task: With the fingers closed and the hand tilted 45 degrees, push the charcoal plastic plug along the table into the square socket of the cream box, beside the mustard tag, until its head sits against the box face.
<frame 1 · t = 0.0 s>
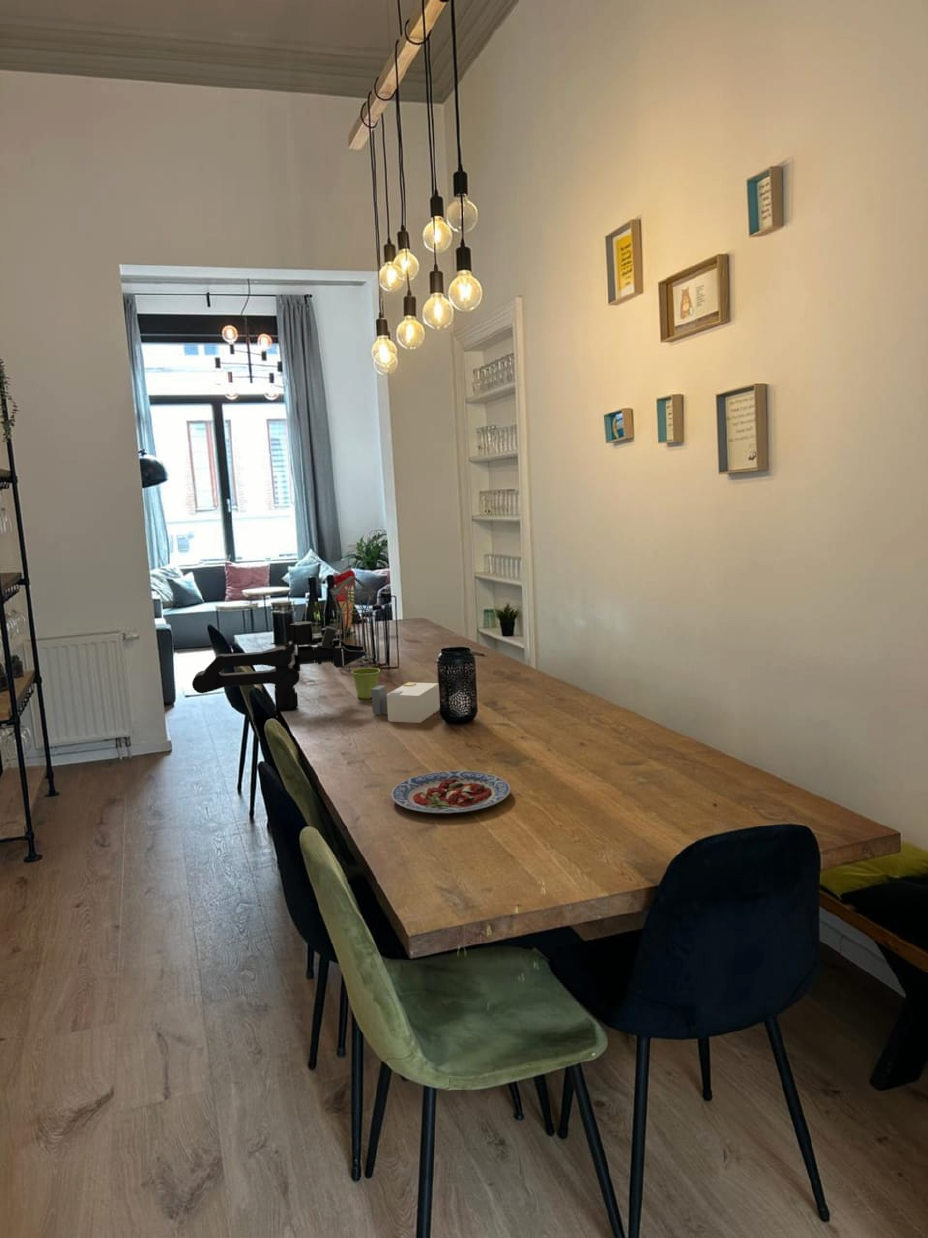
hand: (364, 650, 281), 17 cm above the table, tool horizontal, fingers open, 9 cm apart
ceramic plate: (451, 800, 193), on the table
plug: (390, 700, 267), point 4 cm above the table, slide at 0.0 cm
geometric lantern: (357, 668, 338), on the table
plant pot: (367, 697, 291), on the table
port box: (414, 715, 265), on the table
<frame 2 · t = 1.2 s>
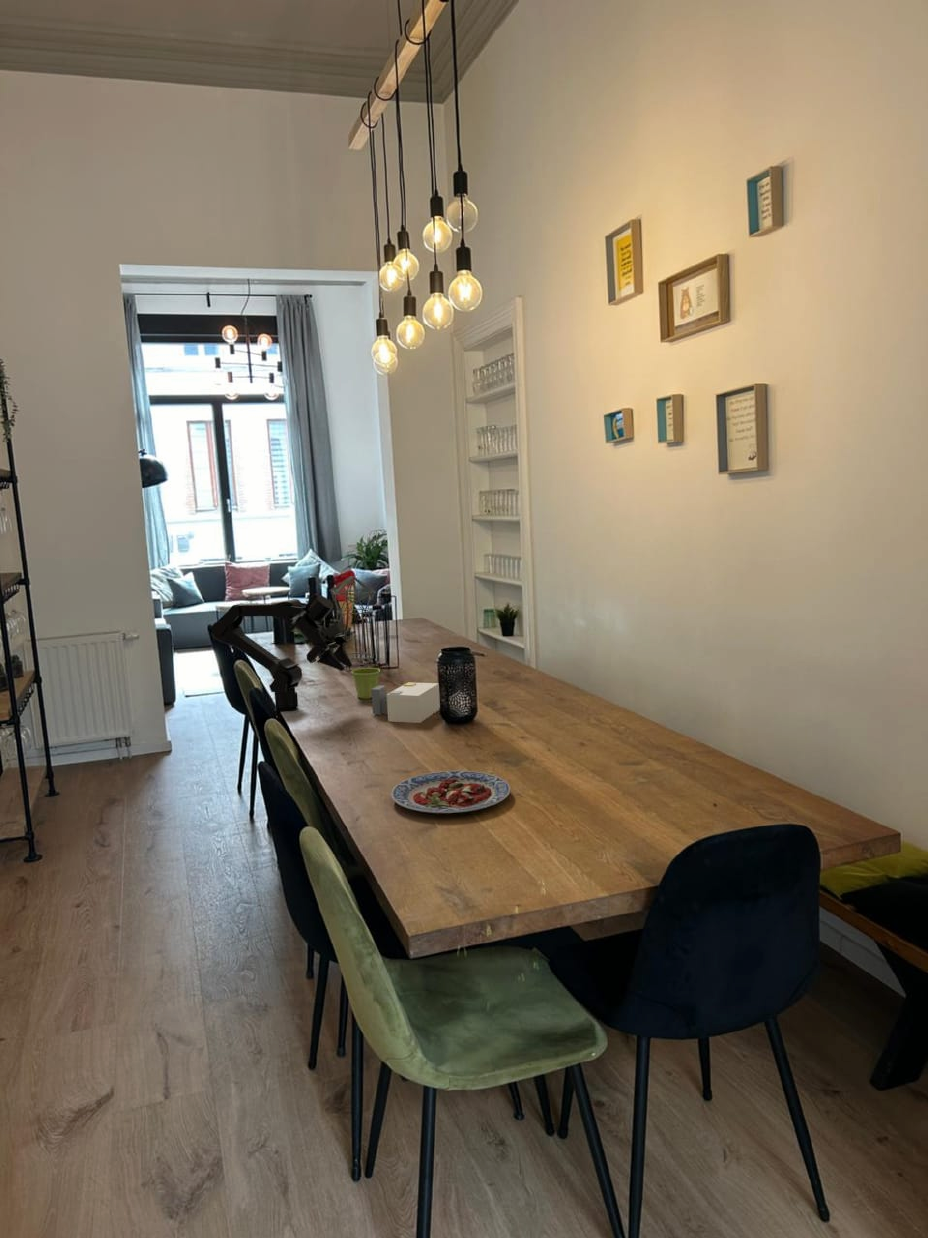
hand: (347, 668, 270), 14 cm above the table, tool tilted 45°, fingers open, 5 cm apart
nothing on the table moved.
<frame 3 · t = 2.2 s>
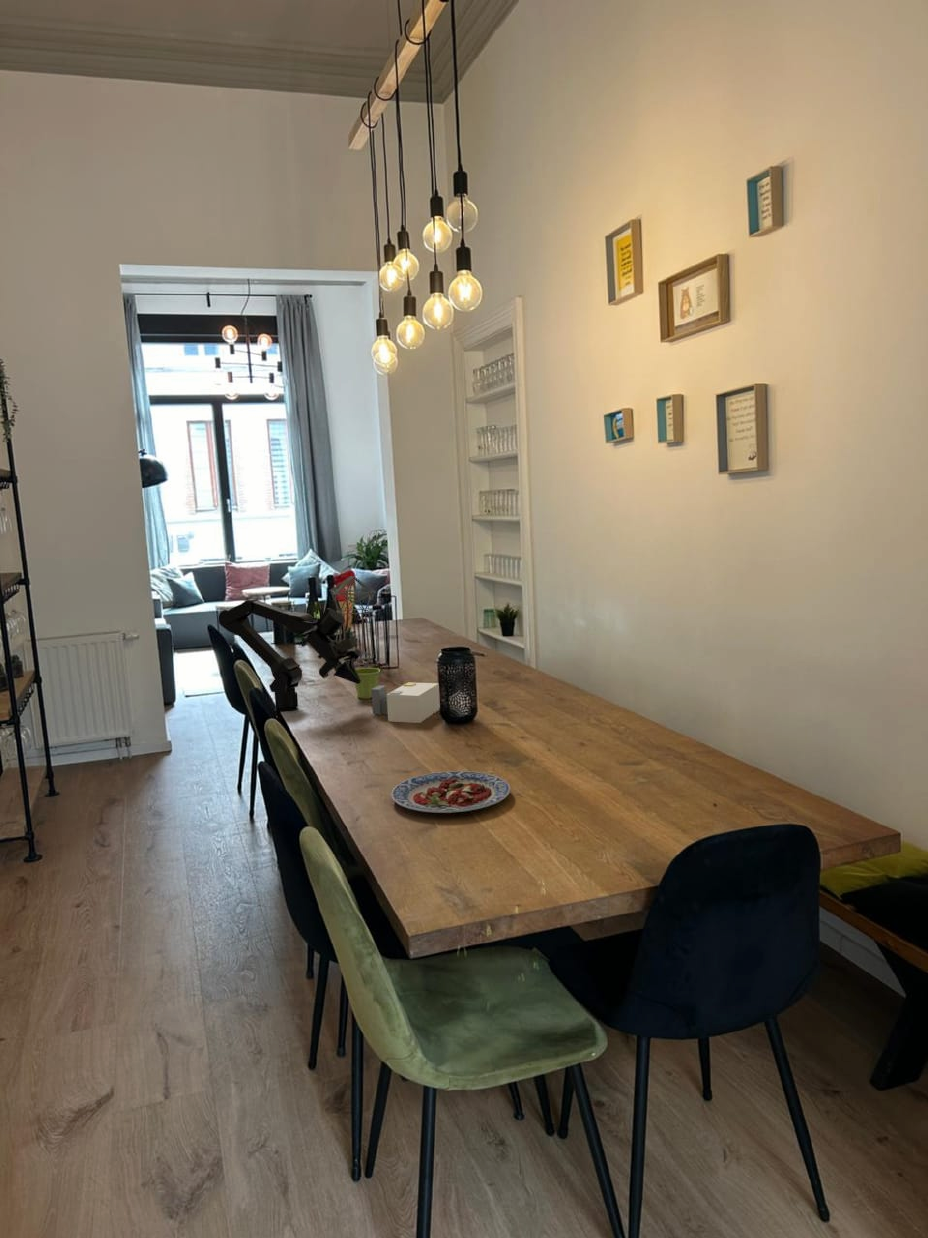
hand: (359, 682, 269), 9 cm above the table, tool tilted 45°, fingers closed
nothing on the table moved.
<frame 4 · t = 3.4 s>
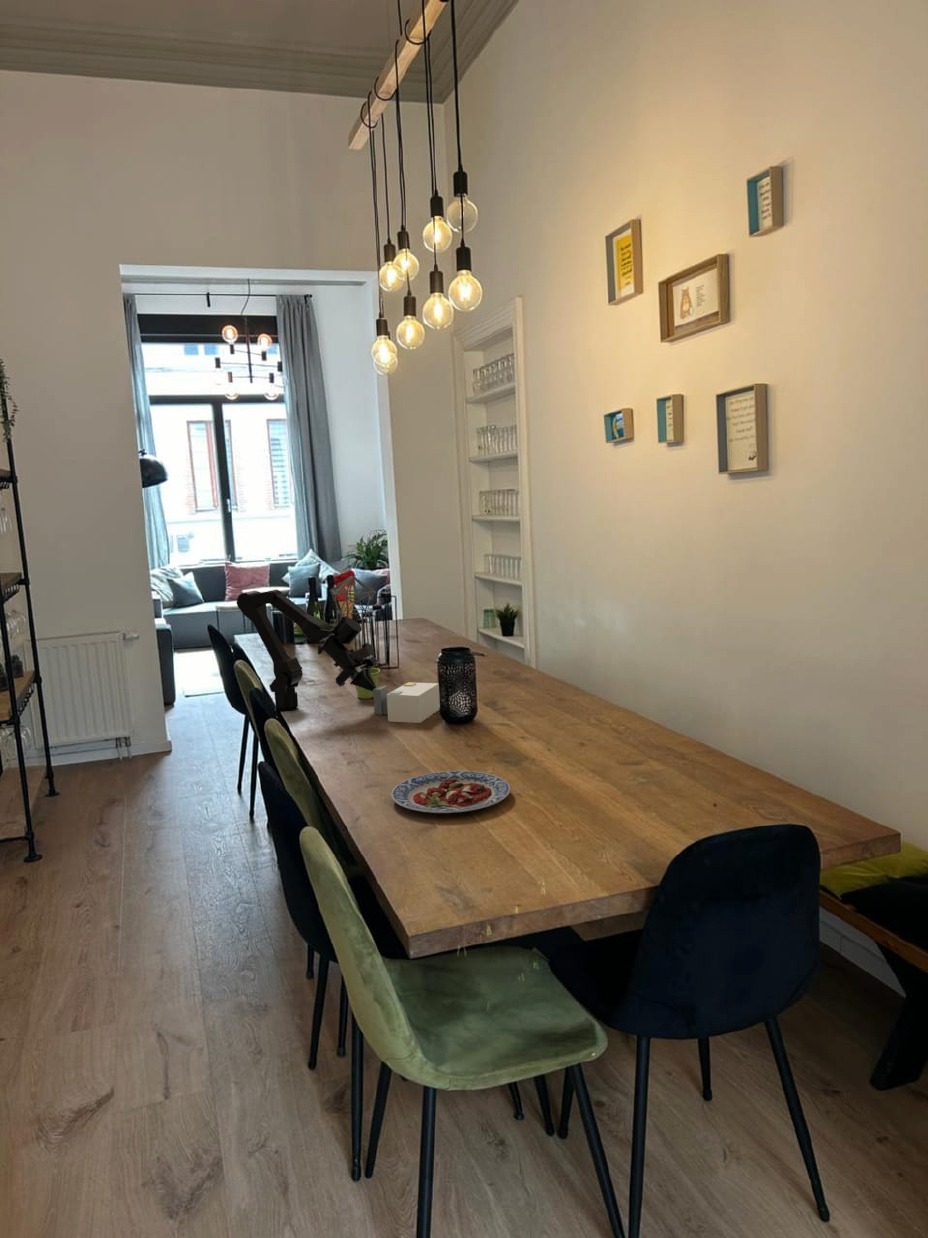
hand: (376, 691, 268), 7 cm above the table, tool tilted 45°, fingers closed, pressing on plug
plug: (391, 700, 266), point 4 cm above the table, slide at 0.5 cm, touching gripper
everything else where it was.
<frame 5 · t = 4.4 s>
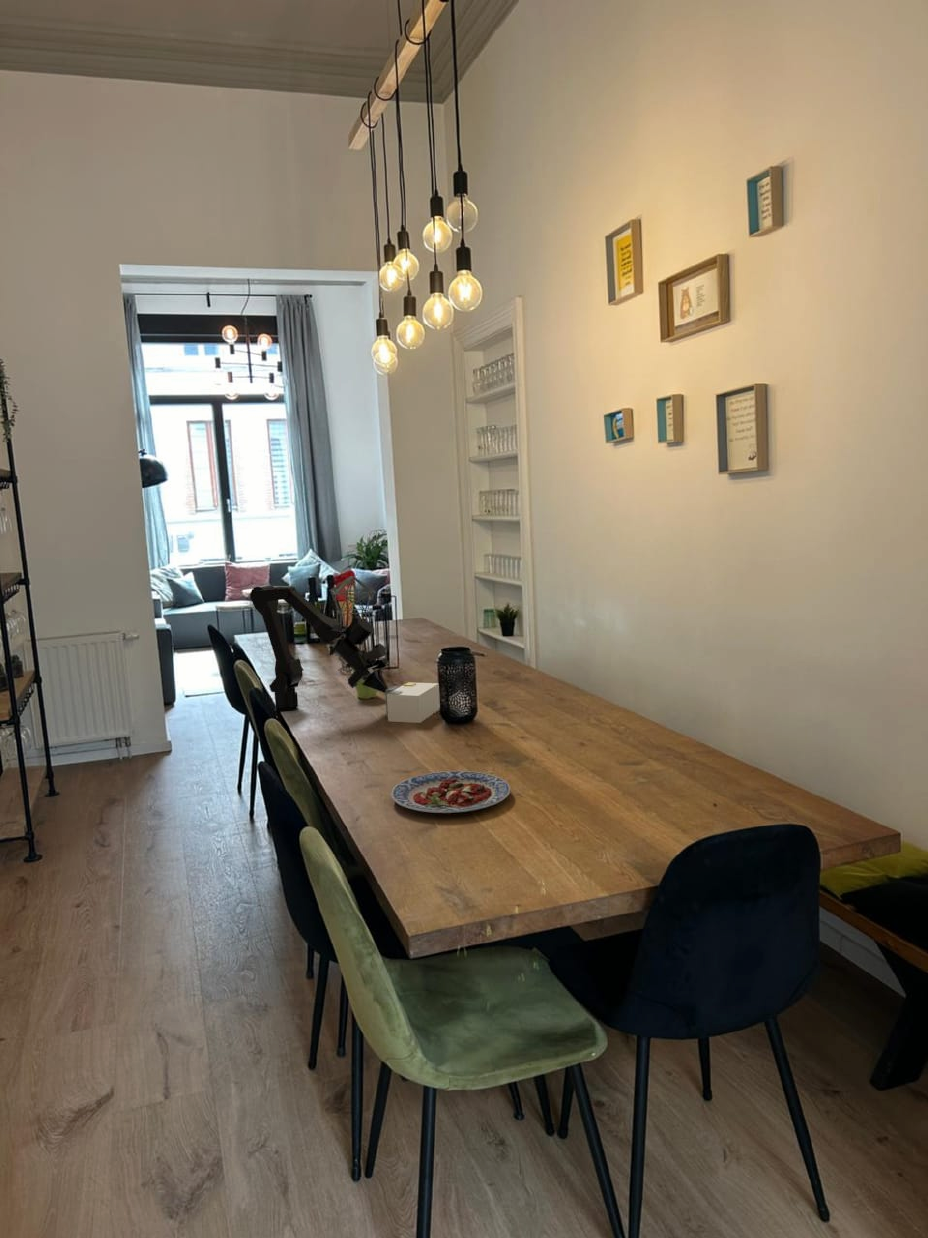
hand: (388, 692, 266), 7 cm above the table, tool tilted 45°, fingers closed
plug: (403, 700, 265), point 4 cm above the table, slide at 4.5 cm
everything else where it was.
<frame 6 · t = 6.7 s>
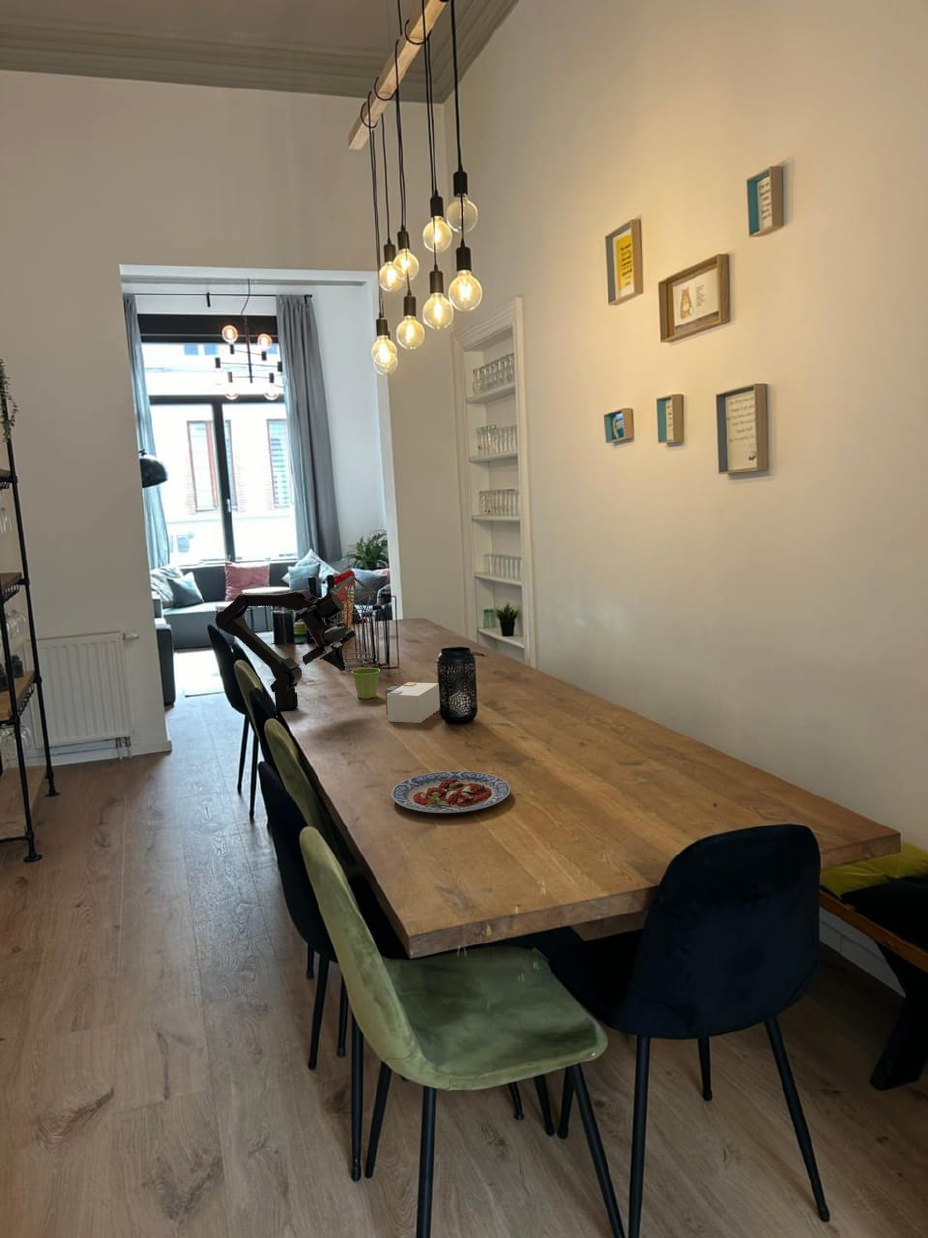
hand: (343, 670, 273), 12 cm above the table, tool tilted 30°, fingers closed
nothing on the table moved.
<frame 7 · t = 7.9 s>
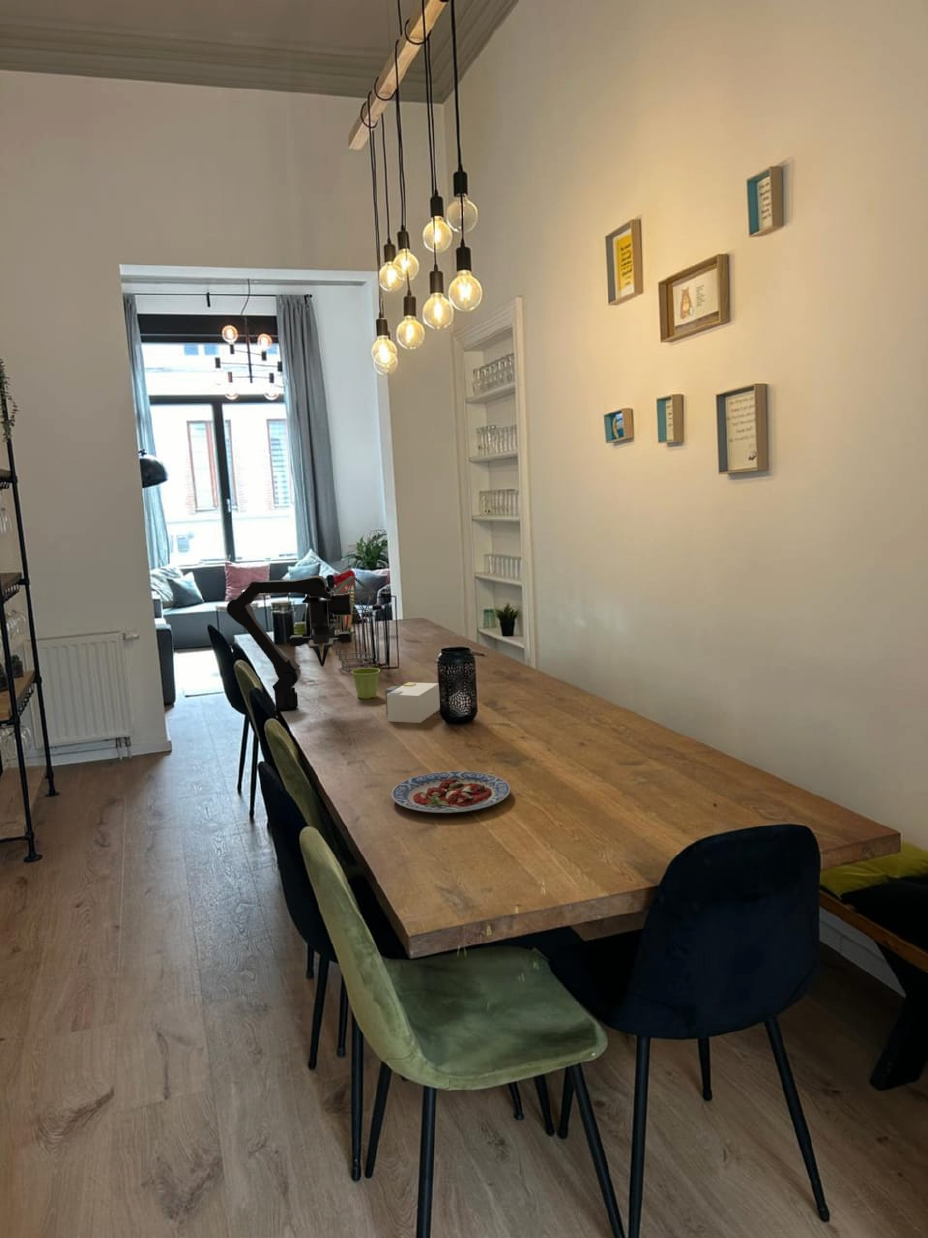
hand: (322, 666, 277), 13 cm above the table, tool pointing down, fingers closed
nothing on the table moved.
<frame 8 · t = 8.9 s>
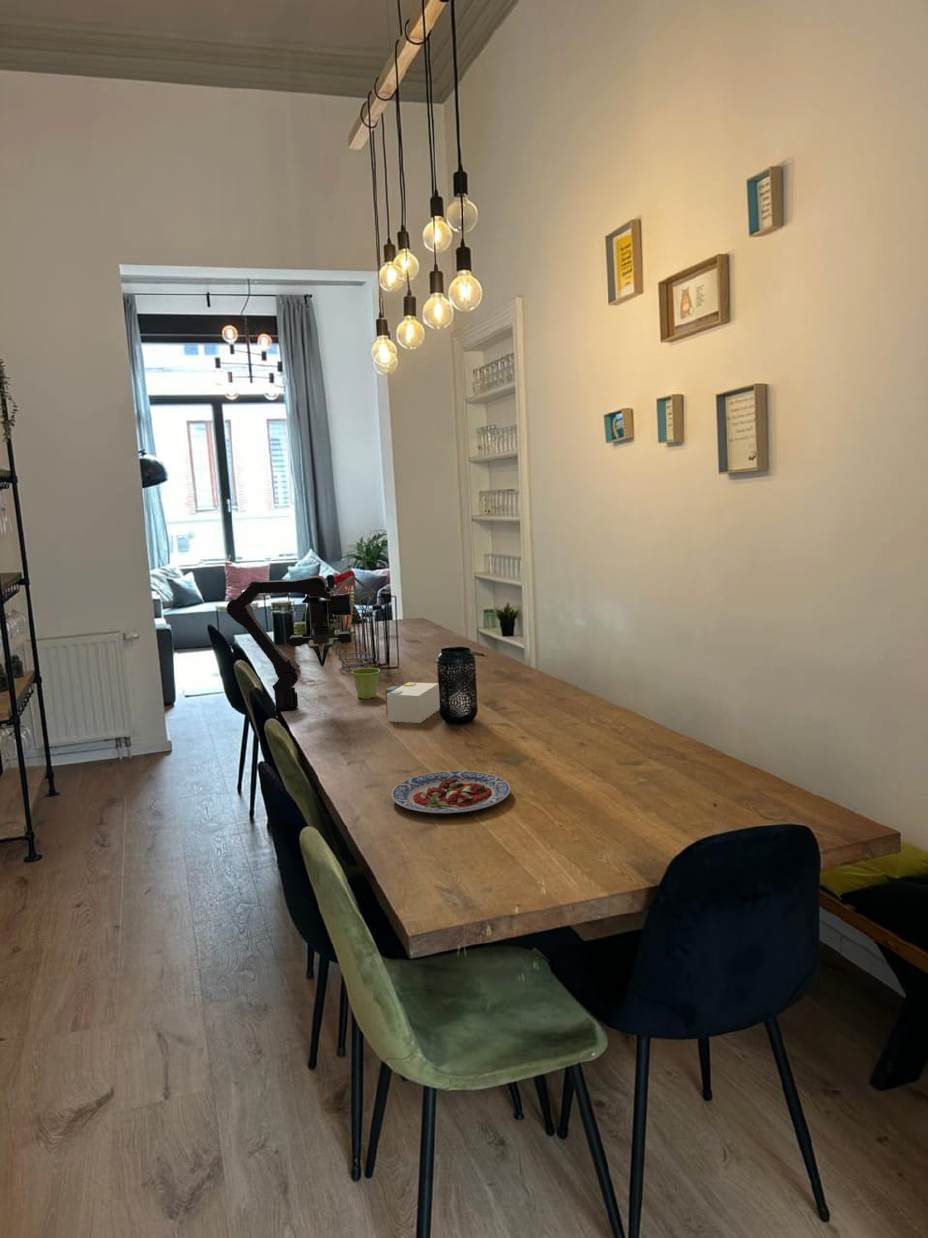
hand: (322, 666, 277), 13 cm above the table, tool pointing down, fingers closed
nothing on the table moved.
at the end: plug slide at 4.5 cm; the gripper is holding nothing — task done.
